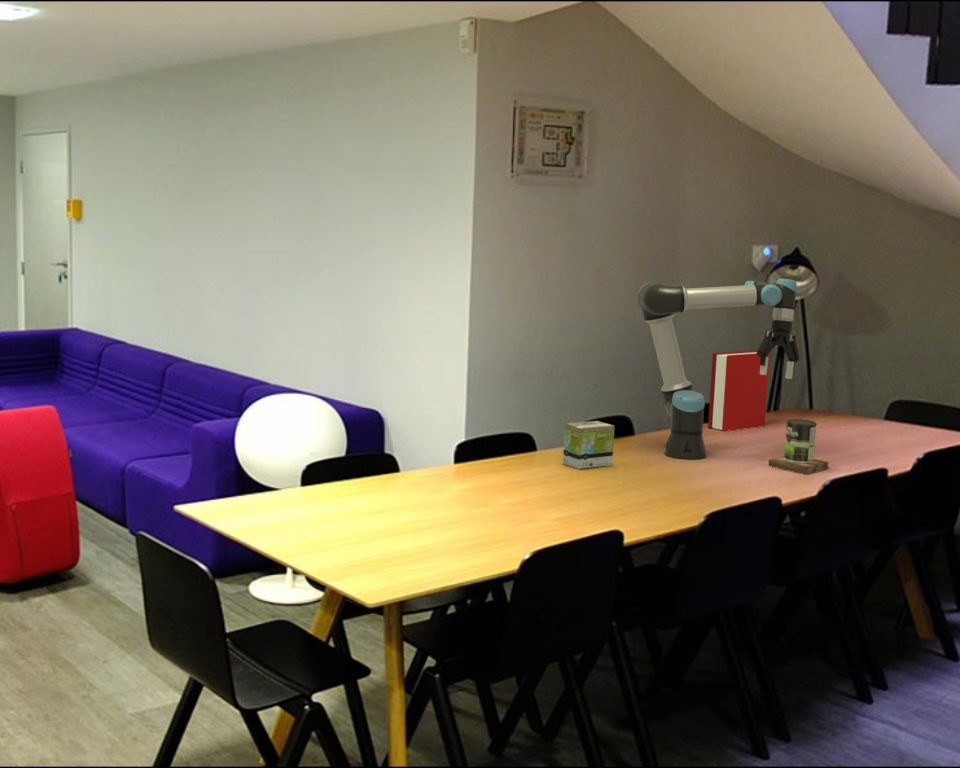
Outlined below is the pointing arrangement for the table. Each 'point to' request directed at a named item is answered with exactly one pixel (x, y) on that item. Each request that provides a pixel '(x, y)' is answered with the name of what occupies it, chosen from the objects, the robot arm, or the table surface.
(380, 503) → the table surface
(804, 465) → the walnut board
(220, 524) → the table surface
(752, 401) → the book
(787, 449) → the coffee can
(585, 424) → the tea box
